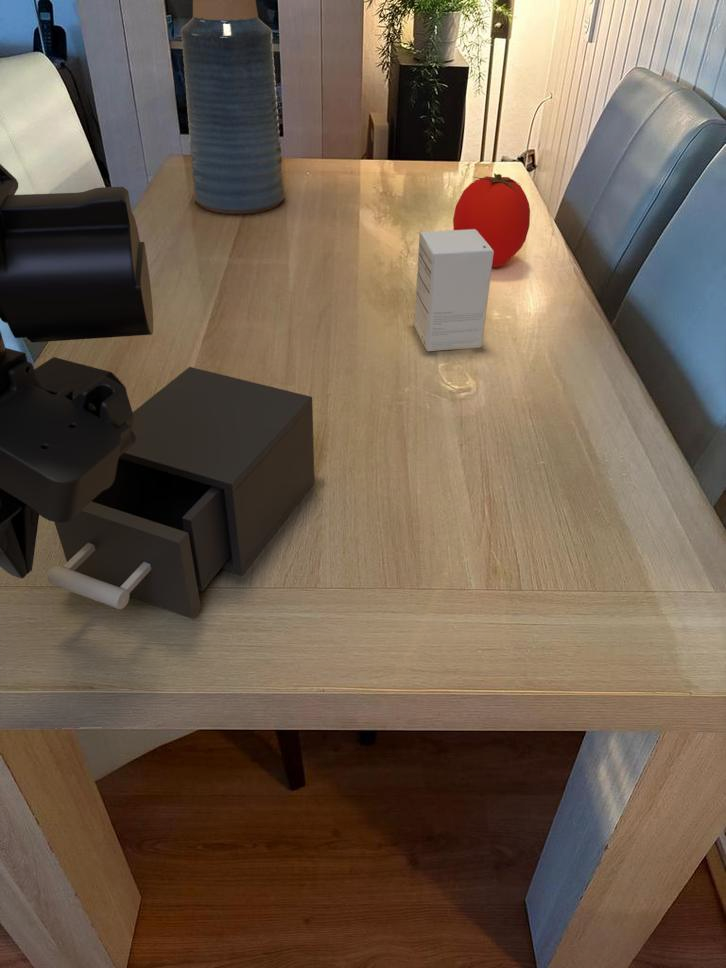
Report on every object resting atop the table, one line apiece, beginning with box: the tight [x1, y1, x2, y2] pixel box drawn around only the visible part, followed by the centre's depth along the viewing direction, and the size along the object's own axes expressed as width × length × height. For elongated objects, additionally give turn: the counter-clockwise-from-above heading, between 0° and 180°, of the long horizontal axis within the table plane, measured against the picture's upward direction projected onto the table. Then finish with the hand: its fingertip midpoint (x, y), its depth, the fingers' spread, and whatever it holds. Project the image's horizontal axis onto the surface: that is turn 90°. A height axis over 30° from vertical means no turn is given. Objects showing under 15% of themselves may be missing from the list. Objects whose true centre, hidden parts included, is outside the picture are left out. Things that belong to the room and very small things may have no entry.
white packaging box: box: [413, 229, 494, 352], centre depth 91 cm, size 7×7×13 cm
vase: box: [180, 0, 286, 215], centre depth 126 cm, size 16×16×32 cm
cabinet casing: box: [119, 366, 315, 577], centre depth 65 cm, size 14×13×10 cm
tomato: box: [452, 172, 531, 268], centre depth 111 cm, size 12×12×13 cm
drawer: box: [47, 458, 232, 620], centre depth 58 cm, size 17×11×8 cm
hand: (21, 573), depth 46 cm, fingers closed
